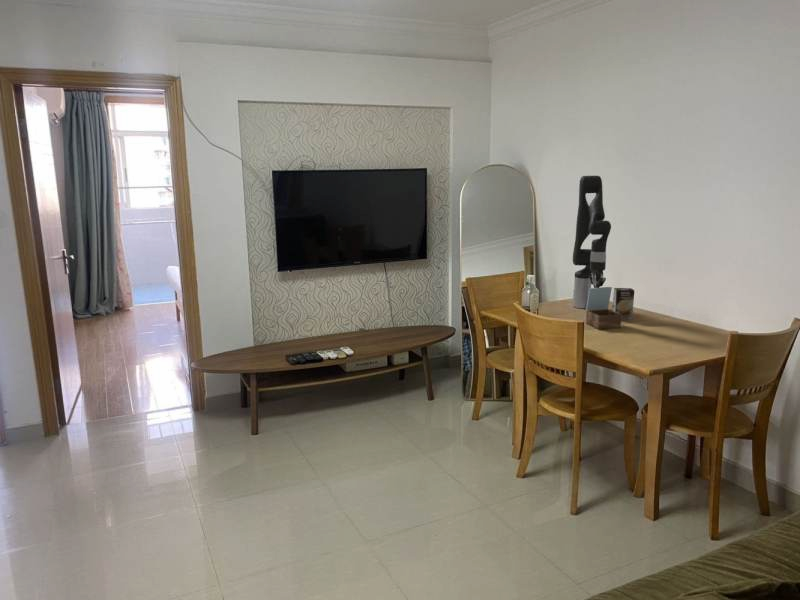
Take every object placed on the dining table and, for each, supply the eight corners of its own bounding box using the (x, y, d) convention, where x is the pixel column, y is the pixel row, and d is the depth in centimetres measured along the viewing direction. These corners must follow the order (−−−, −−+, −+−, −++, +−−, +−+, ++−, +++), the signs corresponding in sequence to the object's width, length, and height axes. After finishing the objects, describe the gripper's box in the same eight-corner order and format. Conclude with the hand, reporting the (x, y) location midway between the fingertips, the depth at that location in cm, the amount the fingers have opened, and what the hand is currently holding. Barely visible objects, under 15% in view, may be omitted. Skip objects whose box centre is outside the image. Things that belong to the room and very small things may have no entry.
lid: (586, 310, 304) (585, 309, 305) (608, 309, 306) (606, 307, 308) (590, 288, 299) (588, 287, 300) (611, 287, 302) (610, 286, 303)
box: (586, 323, 305) (586, 311, 304) (607, 322, 308) (607, 309, 306) (598, 329, 294) (599, 316, 292) (620, 328, 296) (621, 314, 295)
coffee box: (614, 320, 311) (616, 290, 308) (611, 317, 318) (613, 287, 314) (632, 320, 310) (634, 290, 307) (629, 317, 317) (631, 287, 313)
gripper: (584, 258, 307) (582, 292, 310) (598, 262, 294) (596, 296, 298) (597, 258, 308) (596, 291, 312) (612, 261, 296) (610, 296, 299)
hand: (596, 293), depth 305 cm, fingers closed
